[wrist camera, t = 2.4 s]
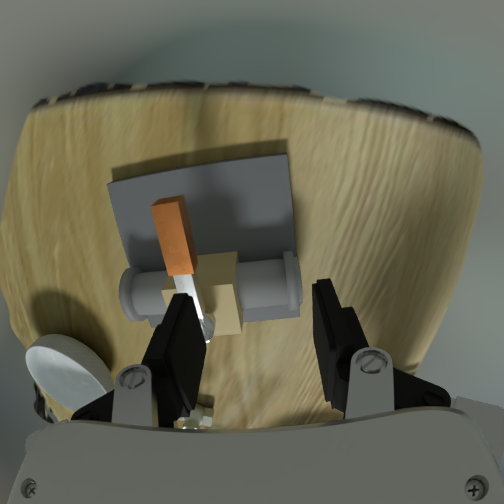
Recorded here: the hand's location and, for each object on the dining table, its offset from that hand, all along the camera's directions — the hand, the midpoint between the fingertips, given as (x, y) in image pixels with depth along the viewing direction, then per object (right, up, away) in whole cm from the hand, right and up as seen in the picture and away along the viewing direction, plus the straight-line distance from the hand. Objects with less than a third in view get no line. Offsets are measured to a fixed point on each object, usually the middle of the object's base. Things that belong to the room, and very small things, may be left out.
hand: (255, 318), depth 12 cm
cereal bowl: (-31, -16, +33) cm, 48 cm away
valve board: (-5, +3, +23) cm, 24 cm away
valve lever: (-6, +1, +14) cm, 15 cm away
